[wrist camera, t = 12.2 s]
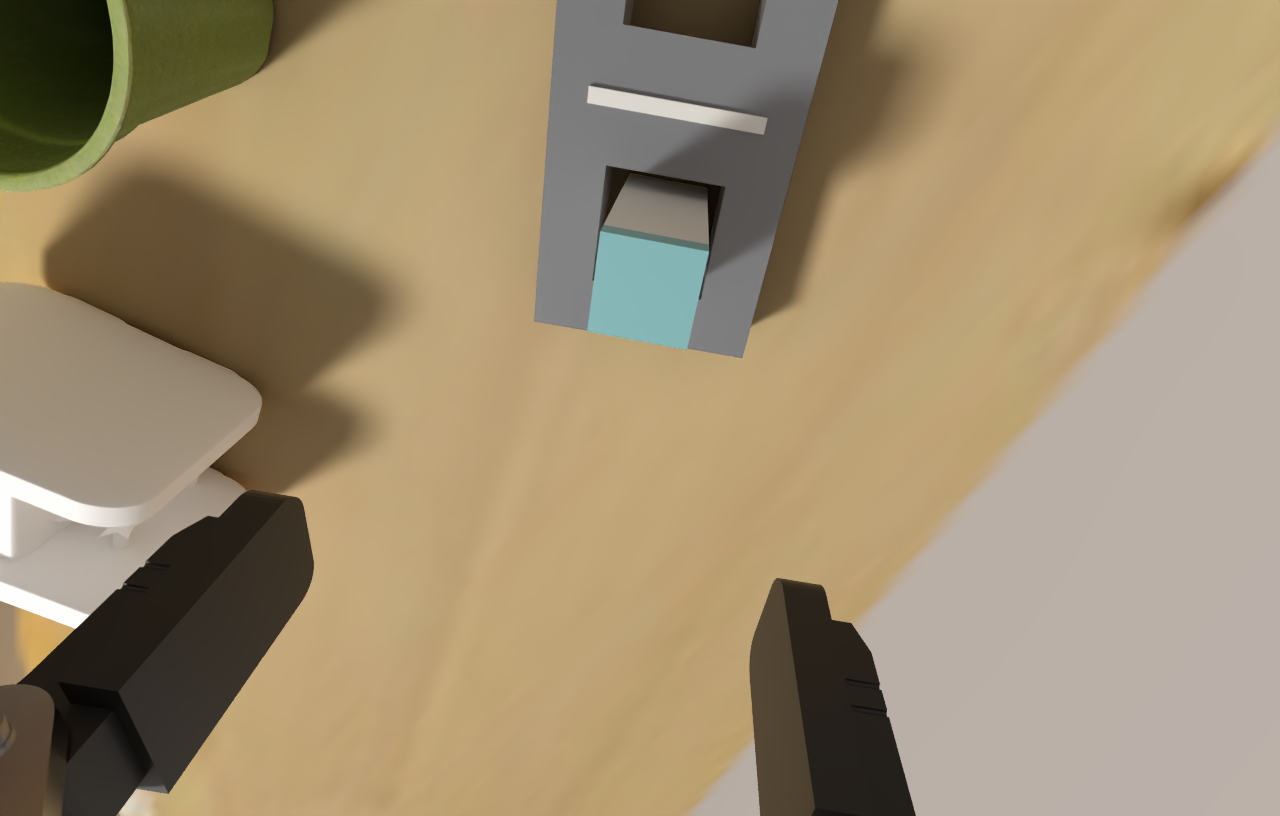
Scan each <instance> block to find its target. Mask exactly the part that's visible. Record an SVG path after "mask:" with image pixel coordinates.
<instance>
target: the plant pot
mask: <svg viewBox="0 0 1280 816" xmlns="http://www.w3.org/2000/svg"><path fill="white" fill-rule="evenodd" d="M273 19H274V9H273V2H272V0H0V191H12V192H24V191H36V190H42V189H49V188H52V187H56V186H59V185H62V184H65V183H67V182H69V181H71V180H73V179H75V178H77V177H79V176H80V175H82V174H84V173H85V172H87V171H88V170H90V169H91V168H92V167H94V166H95V165H96V164H97V163H98V162H99V161H100V160H101V159H102V158H103V157H104V156H105V154H106V153H107V152H108V151H109V150H110V148H111V146H112V145H113V143H114V142H116V141H118V140H120V139H122V138H123V137H125V136H126V135H127V134H129V133H130V132H131V131H133V130H134V129H135V128H136V127H137V126H138V125H140V124H142V123H145V122H147V121H150V120H152V119H155V118H157V117H159V116H162V115H164V114H167V113H169V112H172V111H174V110H177V109H179V108H182V107H184V106H186V105H189V104H191V103H194V102H196V101H199V100H201V99H203V98H206V97H208V96H211V95H213V94H216V93H218V92H221V91H224V90H226V89H229V88H231V87H233V86H236V85H238V84H241V83H242V82H244V81H246V80H248V79H249V78H250V77H251V76H253V75H254V74H255V73H256V72H257V71H258V69H259V68H260V67H261V66H262V64H263V63H264V61H265V59H266V57H267V54H268V47H269V42H270V36H271V31H272V25H273Z"/></svg>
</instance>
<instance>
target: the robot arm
mask: <svg viewBox="0 0 1280 816" xmlns="http://www.w3.org/2000/svg"><path fill="white" fill-rule="evenodd" d="M313 570H314V561H313V555H312V549H311V544H310V539H309V533H308V528H307V522H306V517H305V511H304V507H303V503H302V501H301V500H300V499H299V498H297V497H292V496H286V495H280V494H274V493H268V492H262V491H256V490H249V491H246V492H244V493H243V494H241V495H240V496H239V497H238V498H237V499H236V500H235V501H234V502H233V503H232V504H231V505H230V506H229V507H228V508H227V509H226V510H225V511H224V512H223V513H222V514H221V515H220V516H219V517H213V516H206V517H204V518H203V519H201V520H199V521H197V522H196V523H194V524H192V525H190V526H188V527H187V528H185V529H183V530H181V531H180V532H178V533H176V534H174V535H172V536H171V537H170V538H169V539H168V540H167V541H166V542H165V543H164V544H163V545H162V546H161V547H160V548H159V549H158V550H157V551H156V552H155V553H154V554H153V555H152V556H151V557H149V558H148V559H147V560H146V561H145V565H144V567H139V568H138V569H137V570H136V571H135V572H134V573H133V574H132V575H131V576H130V577H129V578H128V579H127V580H126V581H125V582H124V583H123V586H122V588H121V589H116V590H115V591H114V592H113V593H112V594H111V595H110V596H109V597H108V598H107V599H106V600H105V601H104V602H103V603H102V604H101V605H100V606H99V607H98V608H97V609H96V610H95V611H94V612H92V613H91V614H90V615H89V616H88V617H87V618H86V619H85V620H84V621H83V622H82V623H81V624H80V625H79V626H78V627H77V628H76V629H75V630H74V631H73V632H72V633H71V634H70V635H69V636H68V637H67V638H66V639H65V640H63V641H62V642H61V643H60V644H59V645H58V646H57V647H56V648H55V649H54V650H53V651H52V652H51V653H50V654H49V655H48V656H47V657H46V658H45V659H44V660H43V661H42V662H41V663H40V664H39V665H38V666H37V667H36V668H34V669H33V670H32V671H31V672H30V673H29V674H28V675H27V676H26V677H25V678H23V679H22V680H21V681H20V682H19V683H17V684H12V685H4V686H0V816H120V814H119V811H120V810H121V809H122V807H123V806H124V805H125V803H126V802H127V800H128V799H129V798H130V796H131V795H132V794H133V792H134V791H135V790H136V789H142V790H148V791H154V792H160V793H166V794H169V792H170V791H171V789H172V788H173V786H174V785H175V784H176V782H177V781H178V779H179V778H180V776H181V775H182V773H183V772H184V771H185V769H186V768H187V766H188V765H189V763H190V762H191V760H192V759H193V758H194V756H195V755H196V753H197V752H198V750H199V749H200V747H201V746H202V745H203V743H204V742H205V740H206V739H207V737H208V736H209V734H210V733H211V732H212V730H213V729H214V727H215V726H216V724H217V723H218V721H219V720H220V719H221V717H222V716H223V714H224V713H225V711H226V710H227V708H228V707H229V706H230V704H231V703H232V701H233V700H234V698H235V697H236V696H237V694H238V693H239V691H240V690H241V688H242V687H243V685H244V684H245V683H246V681H247V680H248V678H249V677H250V675H251V674H252V672H253V671H254V670H255V668H256V667H257V665H258V664H259V662H260V661H261V659H262V658H263V657H264V655H265V654H266V652H267V651H268V649H269V648H270V646H271V645H272V644H273V642H274V641H275V639H276V638H277V636H278V635H279V633H280V632H281V631H282V629H283V628H284V626H285V625H286V623H287V622H288V620H289V619H290V618H291V616H292V615H293V613H294V612H295V610H296V609H297V607H298V606H299V605H300V603H301V602H302V600H303V599H304V597H305V595H306V593H307V591H308V589H309V586H310V583H311V580H312V576H313ZM879 685H880V683H879V679H878V675H877V672H876V668H875V665H874V661H873V657H872V654H871V651H870V650H869V649H868V647H867V646H866V644H865V643H864V641H863V640H862V638H861V637H860V635H859V634H858V632H857V631H856V629H855V628H854V626H853V625H852V624H851V623H847V622H841V621H835V620H832V619H831V615H830V610H829V606H828V601H827V596H826V593H825V590H824V588H823V587H822V586H821V585H817V584H811V583H805V582H799V581H793V580H787V579H780V578H777V579H775V580H774V582H773V584H772V587H771V590H770V592H769V595H768V598H767V601H766V603H765V606H764V609H763V612H762V614H761V617H760V620H759V622H758V625H757V628H756V631H755V633H754V637H753V641H752V645H751V652H750V686H751V699H752V712H753V725H754V739H755V752H756V765H757V778H758V791H759V804H760V816H916V815H915V811H914V807H913V804H912V800H911V797H910V793H909V789H908V786H907V782H906V778H905V774H904V771H903V767H902V763H901V760H900V756H899V753H898V749H897V745H896V741H895V738H894V734H893V730H892V727H891V723H890V719H889V717H887V714H886V713H887V708H886V705H885V701H884V698H883V694H882V691H881V690H880V689H879Z"/></svg>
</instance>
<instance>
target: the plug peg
mask: <svg viewBox="0 0 1280 816" xmlns="http://www.w3.org/2000/svg"><path fill="white" fill-rule="evenodd" d="M708 255H709V232H708V201H707V187H701V186H696V185H691V184H685V183H680V182H675V181H670V180H664V179H659V178H654V177H649V176H643V175H638V174H633V173H630V174H629V176H628V178H627V180H626V182H625V184H624V186H623V188H622V189H621V191H620V193H619V195H618V197H617V199H616V201H615V203H614V205H613V207H612V209H611V211H610V213H609V215H608V217H607V219H606V221H605V223H604V225H603V227H602V229H601V231H600V237H599V245H598V252H597V260H596V268H595V275H594V283H593V291H592V298H591V306H590V314H589V321H588V329H587V331H588V332H594V333H599V334H605V335H610V336H615V337H621V338H626V339H631V340H637V341H642V342H647V343H653V344H658V345H664V346H669V347H674V348H680V349H685V350H687V347H688V343H689V339H690V334H691V330H692V325H693V321H694V316H695V312H696V308H697V303H698V299H699V294H700V290H701V286H702V281H703V277H704V272H705V268H706V263H707V259H708Z"/></svg>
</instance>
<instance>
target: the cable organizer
mask: <svg viewBox="0 0 1280 816" xmlns="http://www.w3.org/2000/svg"><path fill="white" fill-rule="evenodd" d="M261 406H262V397H261V395H260V393H259V392H258V390H257V389H256V388H255V387H254V386H253V385H252V384H250V383H249V382H248V381H246V380H245V379H243V378H241V377H239V375H238V374H237V373H235V372H234V371H232V370H230V369H228V368H225V367H223V366H221V365H218V364H216V363H214V362H212V361H209V360H207V359H205V358H203V357H200V356H198V355H196V354H194V353H191V352H189V351H186V350H182V349H180V348H177V347H175V346H173V345H171V344H169V343H167V342H165V341H162V340H160V339H158V338H156V337H154V336H152V335H150V334H147V333H145V332H143V331H141V330H139V329H137V328H135V327H132V326H130V325H128V324H126V323H125V322H124V321H123V320H121V319H119V318H117V317H115V316H113V315H111V314H109V313H107V312H105V311H102V310H100V309H98V308H96V307H94V306H92V305H90V304H87V303H85V302H83V301H81V300H79V299H77V298H74V297H72V296H68V295H64V294H62V293H59V292H57V291H54V290H51V289H48V288H45V287H41V286H37V285H33V284H27V283H19V282H0V601H3V602H5V603H8V604H11V605H14V606H16V607H19V608H22V609H24V610H27V611H30V612H32V613H35V614H38V615H40V616H43V617H46V618H48V619H51V620H54V621H56V622H59V623H62V624H64V625H67V626H70V627H73V628H75V629H76V628H77V627H78V626H79V625H80V624H81V623H82V622H83V621H84V620H85V619H86V618H87V617H88V616H89V615H90V614H91V613H92V612H94V611H95V610H96V609H97V608H98V607H99V606H100V605H101V604H102V603H103V602H104V601H105V600H106V599H107V598H108V597H109V596H110V595H111V594H112V593H113V592H114V591H115V590H116V589H121V588H122V586H123V583H124V582H125V581H126V580H127V579H128V578H129V577H130V576H131V575H132V574H133V573H134V572H135V571H136V570H137V569H138V568H139V567H144V565H145V561H146V560H147V559H148V558H149V557H151V556H152V555H153V554H154V553H155V552H156V551H157V550H158V549H159V548H160V547H161V546H162V545H163V544H164V543H165V542H166V541H167V540H168V539H169V538H170V537H171V536H172V535H174V534H176V533H178V532H180V531H181V530H183V529H185V528H187V527H188V526H190V525H192V524H194V523H196V522H197V521H199V520H201V519H203V518H204V517H206V516H213V517H219V516H220V515H221V514H222V513H223V512H224V511H225V510H226V509H227V508H228V507H229V506H230V505H231V504H232V503H233V502H234V501H235V500H236V499H237V498H238V497H239V496H240V495H241V494H243V493H244V492H246V489H244V488H243V487H242V486H241V485H240V484H239V483H237V482H236V481H234V480H233V479H231V478H229V477H227V476H224V475H223V474H222V473H221V472H219V471H217V470H215V469H212V468H210V467H209V466H210V465H211V464H213V463H214V462H215V461H216V460H217V459H218V458H219V457H220V456H222V455H223V454H224V453H225V452H226V451H227V450H228V449H230V448H231V447H232V446H233V445H234V444H235V443H236V442H237V441H239V440H240V439H241V438H242V437H243V436H244V435H245V434H246V433H248V432H249V431H250V430H251V429H252V428H253V427H254V426H255V425H256V424H257V421H258V418H259V414H260V410H261Z"/></svg>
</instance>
